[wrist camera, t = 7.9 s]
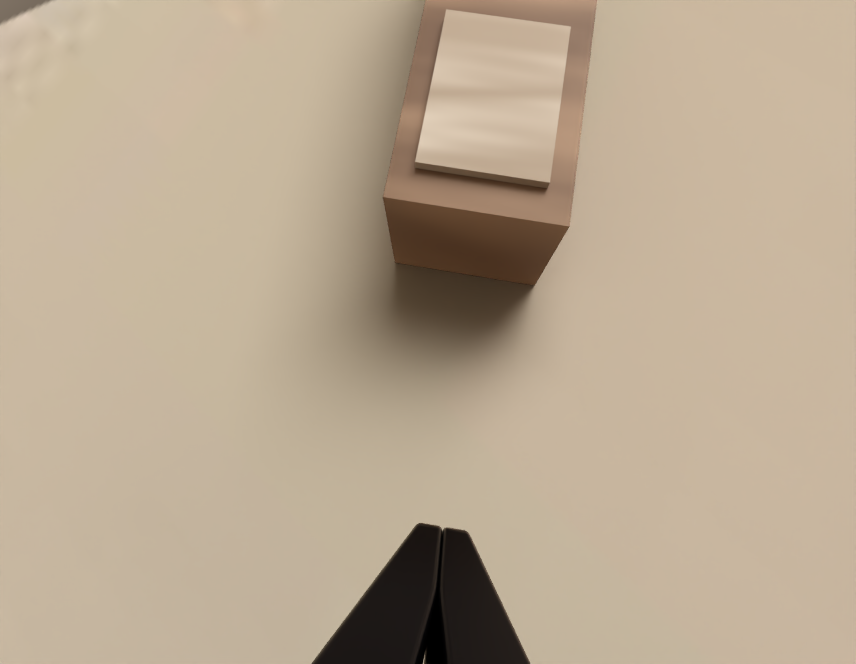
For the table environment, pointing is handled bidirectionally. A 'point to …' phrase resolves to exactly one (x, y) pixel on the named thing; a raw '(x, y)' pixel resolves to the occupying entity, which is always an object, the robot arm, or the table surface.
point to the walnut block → (490, 136)
